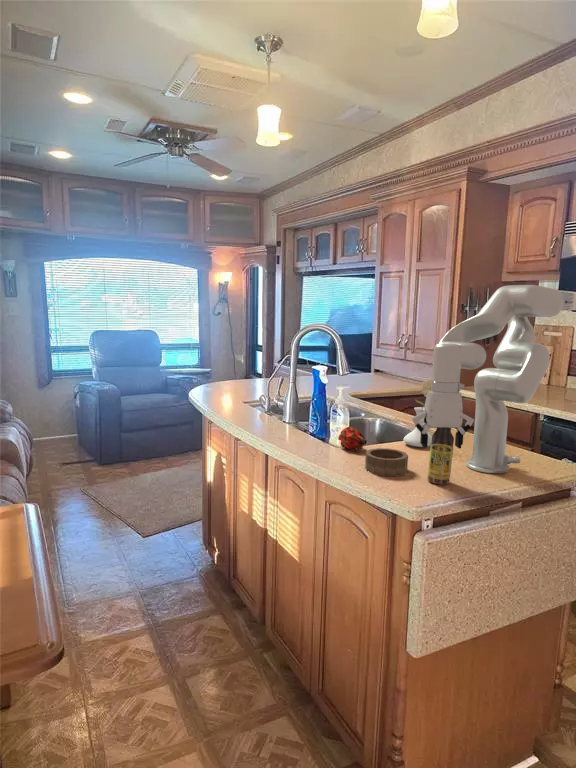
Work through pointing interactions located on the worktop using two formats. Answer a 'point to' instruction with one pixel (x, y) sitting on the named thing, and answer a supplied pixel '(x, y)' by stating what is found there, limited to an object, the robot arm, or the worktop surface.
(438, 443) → the sauce bottle
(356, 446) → the dragon fruit
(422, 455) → the worktop surface
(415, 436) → the flower in vase
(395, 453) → the bottle holder
